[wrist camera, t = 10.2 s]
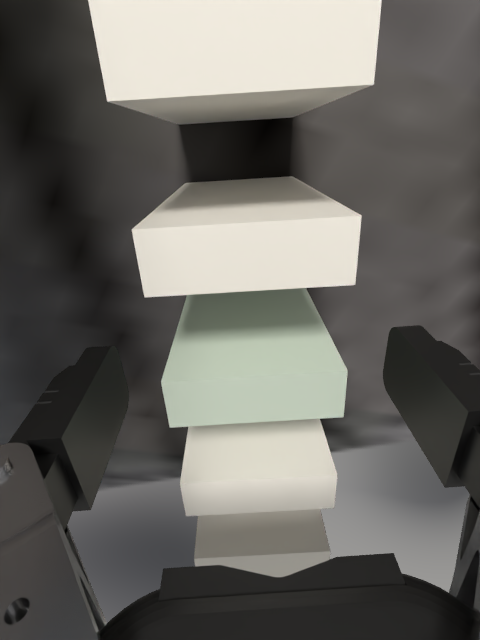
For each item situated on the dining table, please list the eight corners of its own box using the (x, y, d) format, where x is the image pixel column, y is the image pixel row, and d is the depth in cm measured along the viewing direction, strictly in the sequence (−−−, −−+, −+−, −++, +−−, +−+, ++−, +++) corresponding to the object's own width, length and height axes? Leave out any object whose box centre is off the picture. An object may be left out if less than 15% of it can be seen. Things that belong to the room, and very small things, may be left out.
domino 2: (195, 266, 19) (160, 382, 10) (291, 260, 19) (347, 371, 10) (198, 295, 19) (169, 427, 10) (291, 289, 19) (343, 417, 10)
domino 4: (209, 390, 22) (193, 558, 13) (290, 385, 22) (330, 551, 13) (211, 410, 23) (198, 583, 14) (290, 405, 23) (327, 576, 14)
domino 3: (202, 333, 20) (179, 483, 11) (291, 327, 20) (337, 475, 11) (205, 356, 21) (185, 516, 12) (290, 352, 21) (334, 508, 12)
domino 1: (185, 182, 17) (131, 229, 8) (292, 176, 17) (362, 215, 8) (189, 217, 17) (144, 297, 9) (292, 211, 17) (355, 284, 8)
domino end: (173, 80, 15) (86, -10, 6) (293, 73, 15) (383, -30, 6) (178, 124, 16) (107, 101, 7) (292, 117, 16) (373, 84, 7)
